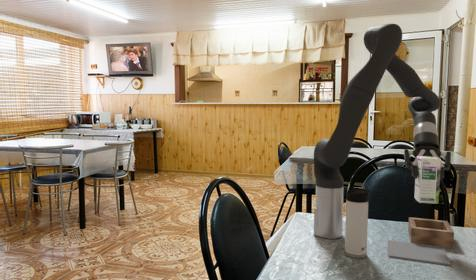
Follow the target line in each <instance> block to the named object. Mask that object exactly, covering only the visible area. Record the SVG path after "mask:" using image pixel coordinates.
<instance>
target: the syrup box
mask: <svg viewBox="0 0 476 280" xmlns="http://www.w3.org/2000/svg"><path fill="white" fill-rule="evenodd" d="M441 162H442V159H441V157H431V156H417V165H416V166H417V179H414V199H415V201H416V202H418V203H419V204H422V203H423V204H436V205H437V204H439V199H440V184H441V183H440V182H441V181H440V169H441Z"/></svg>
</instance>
